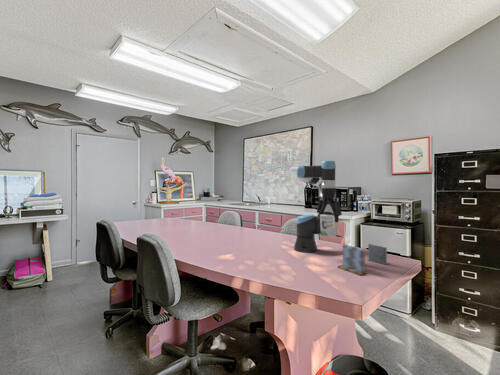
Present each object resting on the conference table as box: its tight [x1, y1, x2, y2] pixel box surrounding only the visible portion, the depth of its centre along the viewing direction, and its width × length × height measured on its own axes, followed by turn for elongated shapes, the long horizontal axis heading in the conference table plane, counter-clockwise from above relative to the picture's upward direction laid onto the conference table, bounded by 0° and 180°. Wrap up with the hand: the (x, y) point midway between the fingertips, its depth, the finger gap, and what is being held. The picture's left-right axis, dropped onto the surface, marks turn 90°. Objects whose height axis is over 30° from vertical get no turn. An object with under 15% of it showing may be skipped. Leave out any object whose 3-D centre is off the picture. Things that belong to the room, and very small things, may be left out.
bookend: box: [367, 243, 391, 266], centre depth 143 cm, size 10×4×9 cm, turn 29°
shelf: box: [337, 244, 368, 277], centre depth 138 cm, size 14×27×12 cm, turn 119°
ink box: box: [320, 214, 338, 238], centre depth 151 cm, size 9×5×12 cm, turn 62°
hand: (328, 226), depth 151 cm, fingers closed on ink box, 9 cm apart
